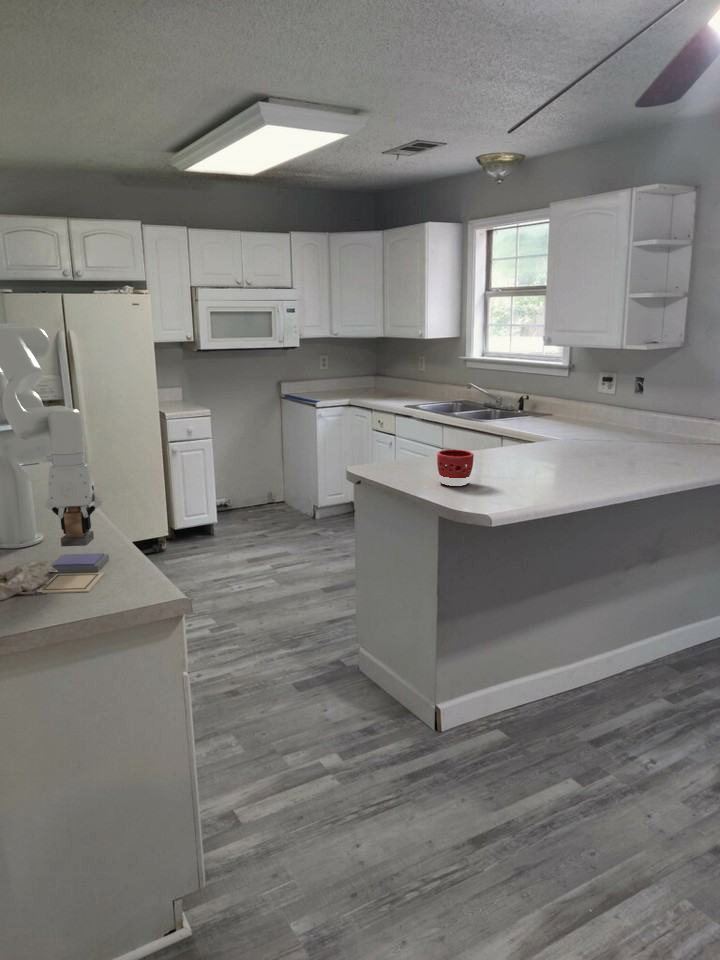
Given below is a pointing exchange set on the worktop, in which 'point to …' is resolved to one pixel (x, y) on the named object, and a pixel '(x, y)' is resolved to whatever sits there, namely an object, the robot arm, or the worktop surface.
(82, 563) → the ink pad
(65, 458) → the robot arm
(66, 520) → the stamp
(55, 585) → the card
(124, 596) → the worktop surface
